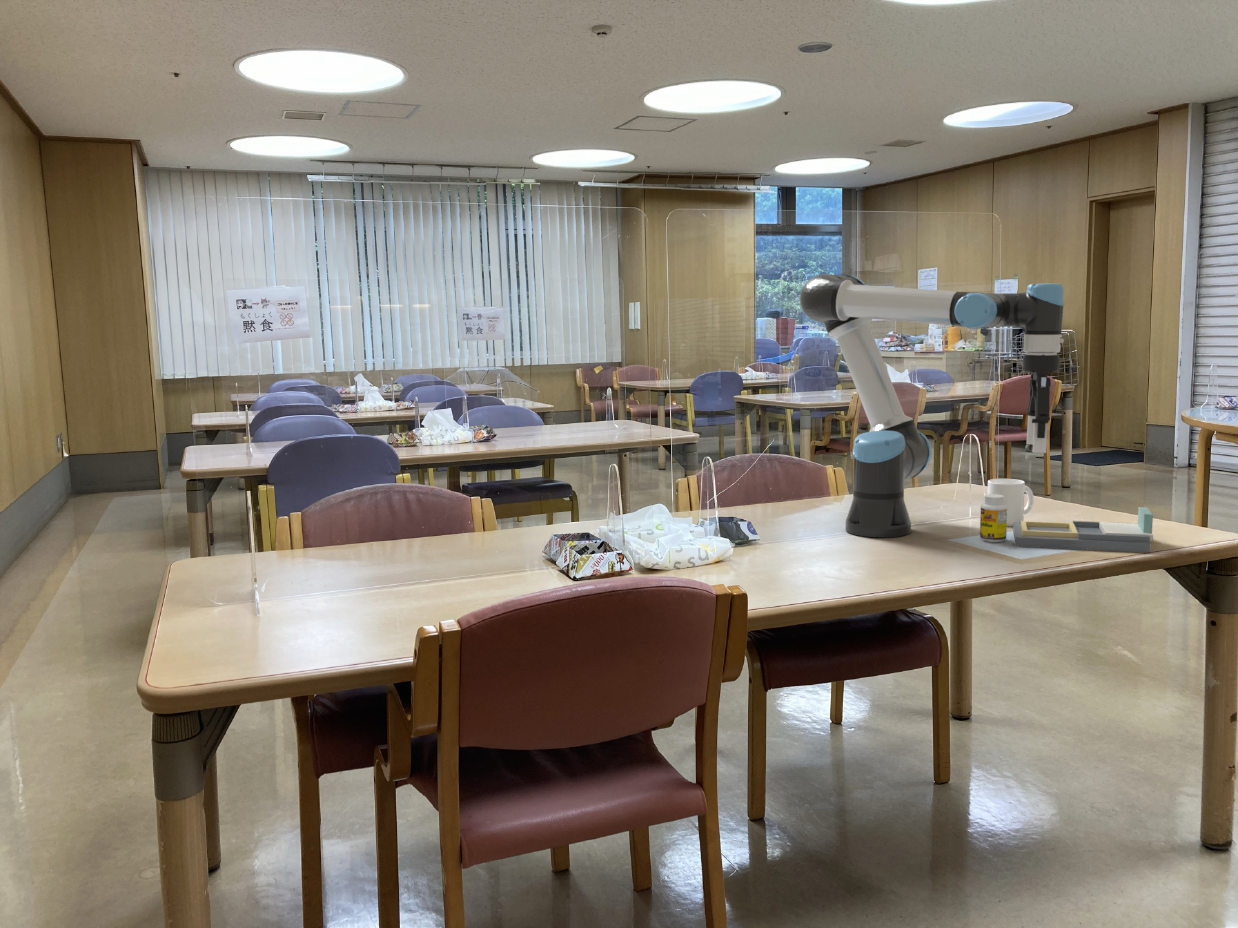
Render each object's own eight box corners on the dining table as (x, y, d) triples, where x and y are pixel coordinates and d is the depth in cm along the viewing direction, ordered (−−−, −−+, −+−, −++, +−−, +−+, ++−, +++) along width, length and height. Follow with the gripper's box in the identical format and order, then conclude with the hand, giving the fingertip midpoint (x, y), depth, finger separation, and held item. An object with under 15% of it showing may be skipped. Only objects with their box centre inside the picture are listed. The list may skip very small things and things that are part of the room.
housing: (1015, 546, 207) (1015, 531, 206) (1012, 530, 222) (1013, 517, 221) (1150, 552, 198) (1150, 537, 197) (1138, 536, 213) (1138, 522, 212)
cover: (1105, 538, 202) (1106, 514, 202) (1099, 527, 213) (1100, 504, 212) (1153, 540, 199) (1154, 516, 199) (1144, 529, 210) (1145, 506, 209)
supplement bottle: (974, 538, 215) (975, 494, 213) (995, 536, 217) (996, 492, 215) (990, 544, 210) (992, 498, 208) (1011, 541, 211) (1013, 496, 210)
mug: (1021, 517, 236) (1022, 476, 235) (1044, 523, 228) (1045, 481, 227) (979, 521, 233) (980, 480, 232) (1001, 527, 226) (1002, 485, 224)
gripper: (1067, 356, 197) (1061, 457, 201) (1053, 351, 221) (1047, 441, 224) (1028, 356, 200) (1023, 455, 203) (1018, 351, 223) (1013, 440, 227)
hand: (1036, 448), depth 214 cm, fingers open, 13 cm apart
